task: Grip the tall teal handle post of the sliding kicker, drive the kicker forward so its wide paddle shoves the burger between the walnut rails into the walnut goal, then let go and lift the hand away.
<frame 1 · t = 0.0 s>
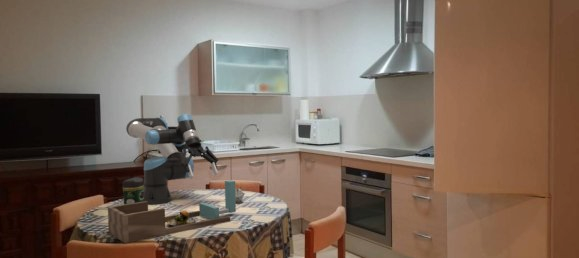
hand: (204, 176, 206), 15 cm above the table, tool tilted 35°, fingers open, 13 cm apart
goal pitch: (172, 226, 171), on the table
burger: (181, 225, 174), on the table
game die: (236, 203, 215), on the table
kicker: (220, 199, 185), point 8 cm above the table, slide at 0.0 cm
coffee jar: (134, 220, 183), on the table
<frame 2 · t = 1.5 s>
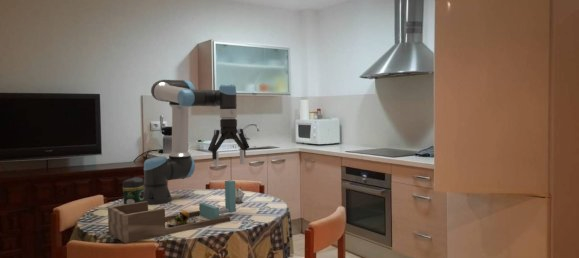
hand: (229, 165, 188), 23 cm above the table, tool pointing down, fingers open, 13 cm apart
nothing on the table moved.
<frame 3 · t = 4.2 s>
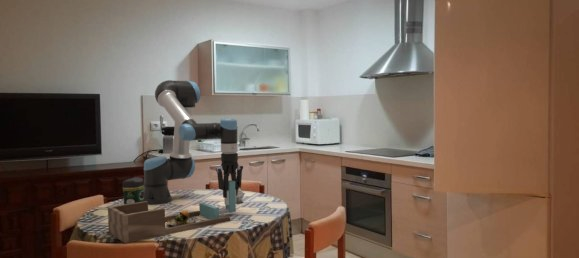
hand: (230, 203, 189), 5 cm above the table, tool pointing down, fingers closed on kicker, 3 cm apart
kicker: (220, 199, 185), point 8 cm above the table, slide at 0.0 cm, touching gripper
everything else where it was.
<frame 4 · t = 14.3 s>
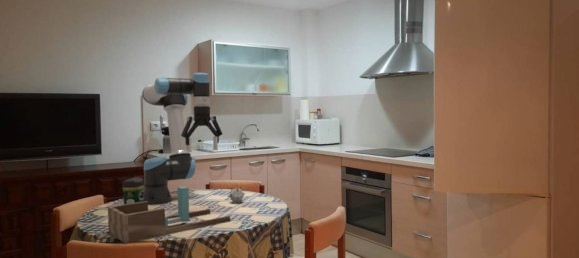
hand: (202, 151, 195), 29 cm above the table, tool pointing down, fingers open, 13 cm apart
burger: (140, 233, 164), on the table
kicker: (171, 207, 171), point 8 cm above the table, slide at 22.9 cm
everything else where it was.
at the end: burger inside the target area (2.8 cm from its centre), on the table; kicker slide at 22.9 cm; the gripper is holding nothing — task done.
